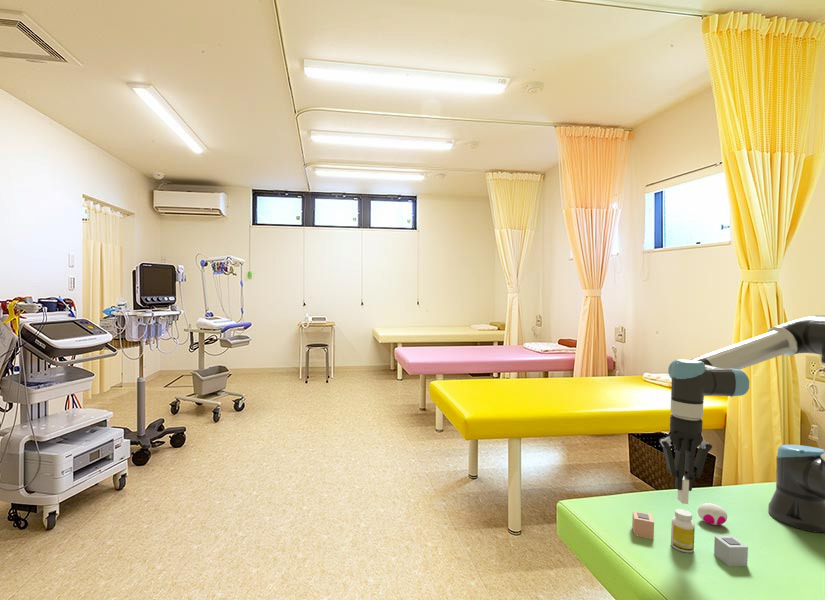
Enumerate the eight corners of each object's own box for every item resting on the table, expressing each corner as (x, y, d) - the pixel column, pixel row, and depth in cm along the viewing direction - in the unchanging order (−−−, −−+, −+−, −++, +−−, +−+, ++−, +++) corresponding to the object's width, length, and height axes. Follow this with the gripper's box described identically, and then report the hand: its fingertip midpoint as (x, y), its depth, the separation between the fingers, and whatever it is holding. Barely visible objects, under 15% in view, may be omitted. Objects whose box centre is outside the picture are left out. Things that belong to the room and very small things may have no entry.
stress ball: (700, 534, 131) (703, 522, 127) (693, 509, 137) (696, 497, 133) (729, 538, 128) (734, 526, 125) (721, 513, 134) (725, 501, 131)
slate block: (731, 554, 115) (732, 535, 115) (747, 566, 110) (747, 546, 110) (714, 554, 115) (714, 535, 115) (728, 566, 110) (729, 546, 110)
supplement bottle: (697, 554, 115) (698, 518, 114) (675, 551, 116) (676, 516, 116) (688, 543, 120) (689, 508, 120) (667, 540, 121) (668, 506, 121)
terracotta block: (651, 530, 126) (651, 513, 126) (653, 539, 121) (654, 521, 121) (632, 527, 128) (632, 509, 128) (634, 535, 123) (634, 517, 123)
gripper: (704, 414, 120) (700, 497, 121) (655, 411, 122) (651, 493, 122) (719, 422, 113) (716, 510, 113) (667, 418, 114) (664, 505, 115)
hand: (682, 501), depth 118 cm, fingers closed
